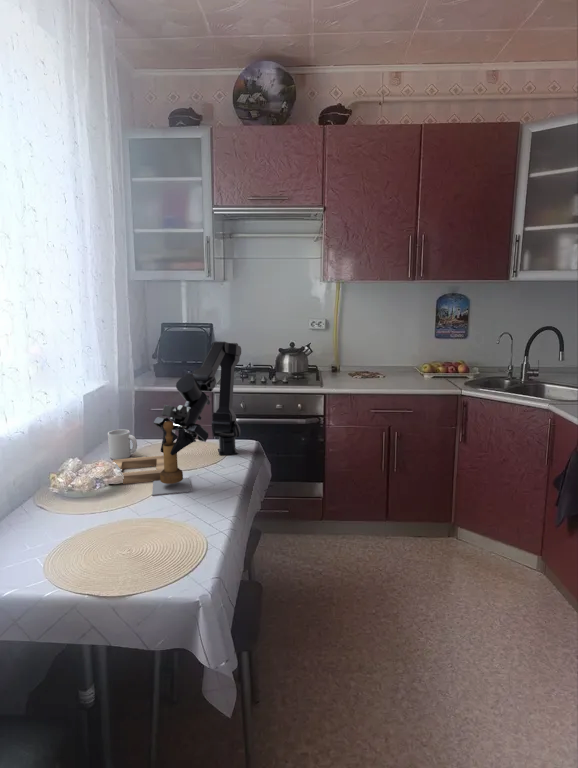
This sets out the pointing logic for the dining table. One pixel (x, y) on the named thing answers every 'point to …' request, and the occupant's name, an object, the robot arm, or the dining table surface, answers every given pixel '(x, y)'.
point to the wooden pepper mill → (170, 458)
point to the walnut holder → (138, 463)
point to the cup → (121, 444)
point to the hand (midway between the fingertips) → (166, 453)
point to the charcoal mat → (171, 487)
